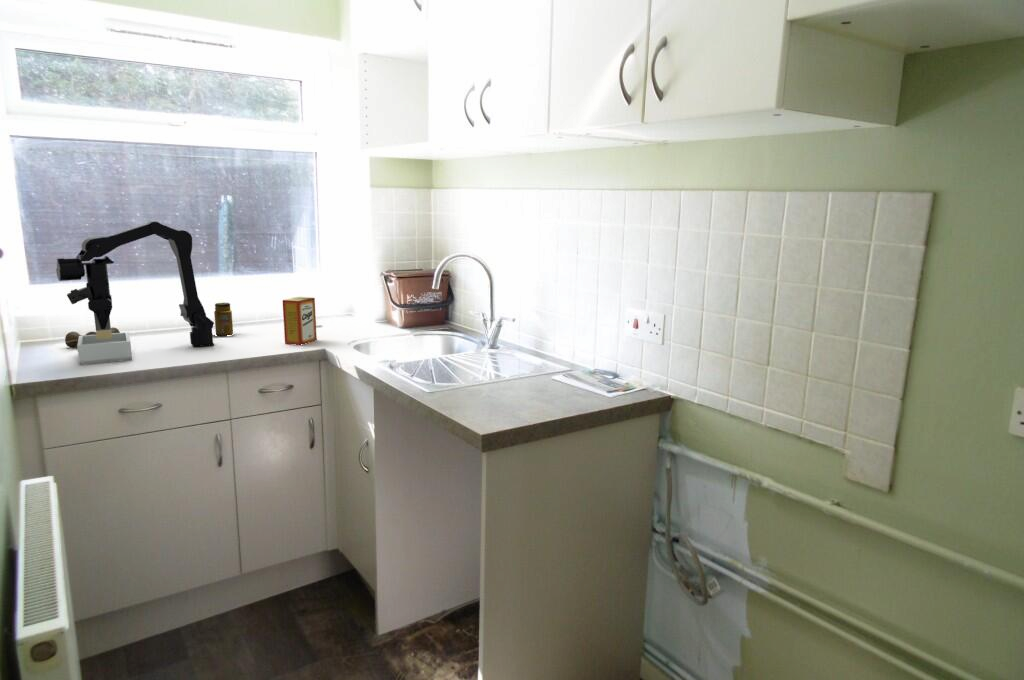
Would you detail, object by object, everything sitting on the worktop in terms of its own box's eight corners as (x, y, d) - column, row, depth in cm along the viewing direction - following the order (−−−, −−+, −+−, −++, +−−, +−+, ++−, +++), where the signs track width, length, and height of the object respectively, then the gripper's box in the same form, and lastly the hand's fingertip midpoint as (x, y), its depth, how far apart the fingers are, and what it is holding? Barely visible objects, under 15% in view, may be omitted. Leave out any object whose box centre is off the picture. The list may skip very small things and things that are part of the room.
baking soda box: (300, 345, 235) (298, 300, 232) (285, 344, 237) (282, 299, 234) (316, 340, 244) (314, 296, 241) (301, 339, 246) (299, 295, 243)
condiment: (236, 333, 257) (233, 301, 255) (232, 337, 249) (229, 305, 247) (215, 333, 256) (213, 302, 253) (211, 337, 247) (208, 305, 245)
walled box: (130, 349, 226) (128, 332, 225) (132, 360, 211) (130, 341, 209) (81, 353, 219) (79, 335, 218) (79, 365, 204) (77, 345, 202)
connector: (111, 336, 216) (108, 309, 214) (111, 338, 213) (108, 310, 211) (97, 337, 214) (93, 310, 212) (97, 340, 211) (93, 311, 209)
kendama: (127, 342, 240) (77, 352, 221) (106, 341, 243) (55, 351, 224) (125, 326, 239) (75, 334, 220) (104, 325, 242) (53, 333, 223)
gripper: (68, 277, 214) (74, 325, 217) (65, 283, 198) (71, 335, 201) (109, 275, 219) (114, 322, 222) (109, 281, 203) (115, 331, 207)
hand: (103, 327), depth 213 cm, fingers closed on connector, 4 cm apart
